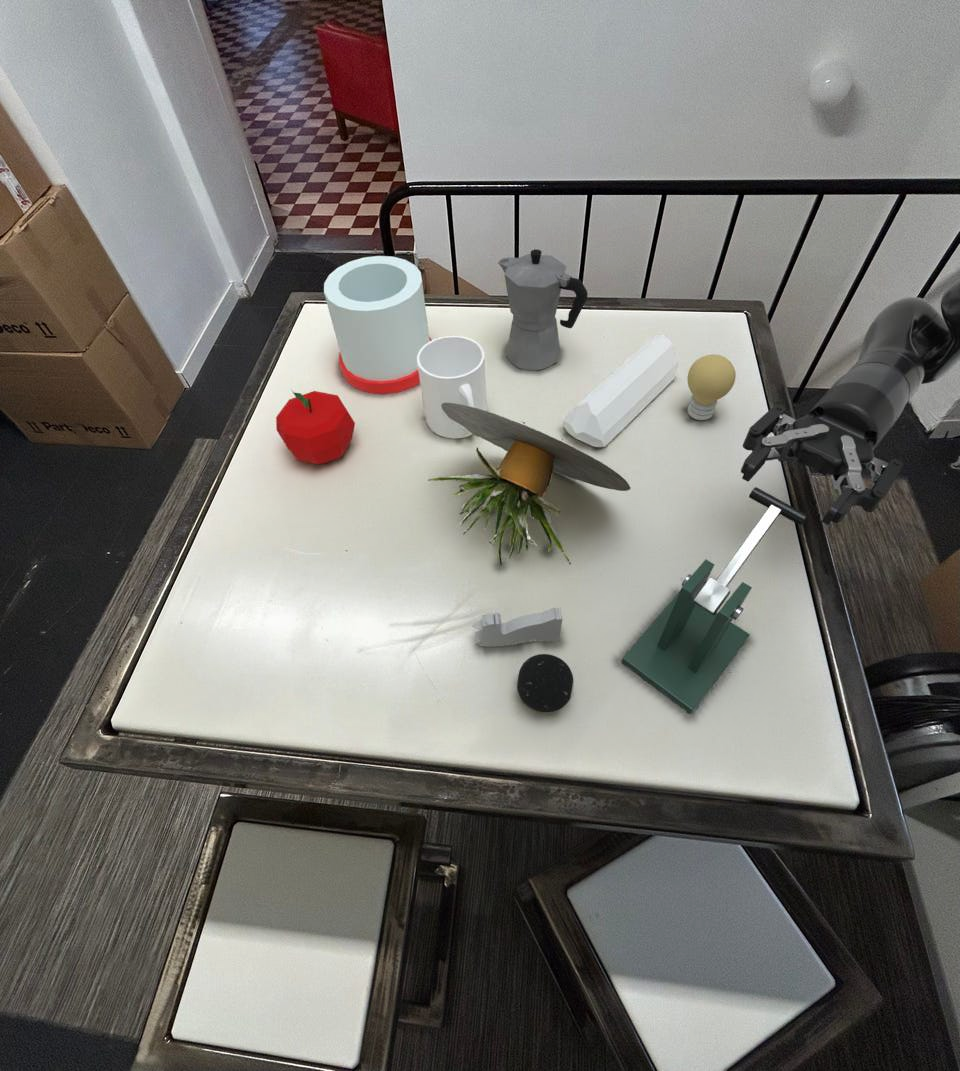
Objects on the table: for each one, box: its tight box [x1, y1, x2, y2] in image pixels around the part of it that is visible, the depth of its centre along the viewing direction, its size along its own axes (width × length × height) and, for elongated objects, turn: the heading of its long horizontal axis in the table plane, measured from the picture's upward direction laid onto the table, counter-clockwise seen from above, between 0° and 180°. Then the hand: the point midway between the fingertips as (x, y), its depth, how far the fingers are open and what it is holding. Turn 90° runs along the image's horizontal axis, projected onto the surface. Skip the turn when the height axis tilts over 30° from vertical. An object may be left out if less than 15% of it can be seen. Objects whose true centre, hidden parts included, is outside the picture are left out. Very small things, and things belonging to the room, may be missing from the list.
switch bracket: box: [621, 558, 753, 715], centre depth 64 cm, size 12×9×14 cm
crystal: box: [562, 333, 679, 448], centre depth 92 cm, size 7×7×24 cm
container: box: [323, 255, 433, 395], centre depth 97 cm, size 16×16×15 cm
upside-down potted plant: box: [427, 403, 631, 567], centre depth 76 cm, size 25×18×25 cm
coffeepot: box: [497, 248, 589, 372], centre depth 95 cm, size 15×9×18 cm, turn 55°
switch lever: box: [694, 486, 809, 616], centre depth 60 cm, size 13×6×2 cm, turn 137°
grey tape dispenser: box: [471, 607, 564, 648], centre depth 69 cm, size 6×1×10 cm
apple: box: [275, 390, 356, 465], centre depth 88 cm, size 11×11×10 cm
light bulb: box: [686, 353, 736, 421], centre depth 89 cm, size 6×6×10 cm
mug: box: [417, 335, 488, 439], centre depth 89 cm, size 10×12×12 cm
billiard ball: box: [516, 653, 575, 714], centre depth 65 cm, size 6×6×6 cm
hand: (786, 495), depth 61 cm, fingers open, 8 cm apart
